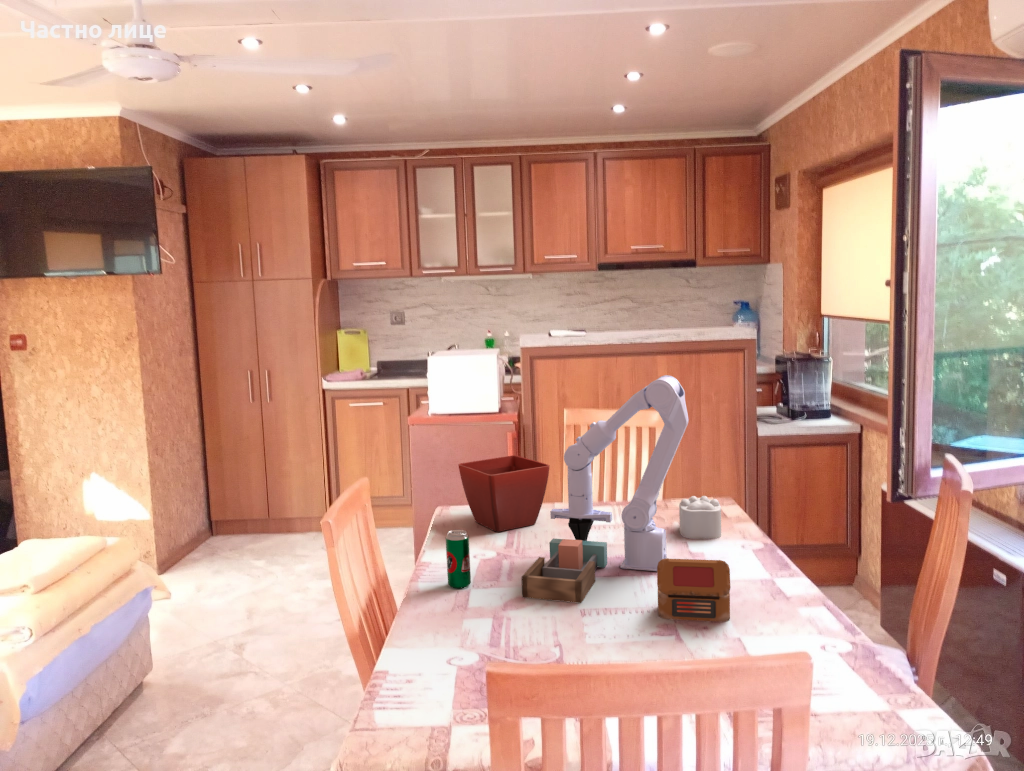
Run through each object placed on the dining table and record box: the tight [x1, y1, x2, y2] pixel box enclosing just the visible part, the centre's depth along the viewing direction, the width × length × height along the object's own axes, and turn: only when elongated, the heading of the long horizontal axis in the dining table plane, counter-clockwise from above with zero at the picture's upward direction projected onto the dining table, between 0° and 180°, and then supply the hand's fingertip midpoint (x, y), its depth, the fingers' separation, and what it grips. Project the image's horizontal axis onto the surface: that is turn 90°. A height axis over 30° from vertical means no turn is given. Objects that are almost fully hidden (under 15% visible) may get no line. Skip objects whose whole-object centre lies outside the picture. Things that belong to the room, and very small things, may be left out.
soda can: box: [445, 529, 472, 590], centre depth 167 cm, size 5×5×12 cm
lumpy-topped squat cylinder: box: [678, 495, 722, 540], centre depth 199 cm, size 10×13×9 cm
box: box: [656, 558, 731, 623], centre depth 148 cm, size 28×28×12 cm
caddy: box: [521, 556, 596, 604], centre depth 163 cm, size 13×12×4 cm
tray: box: [542, 538, 608, 580], centre depth 173 cm, size 13×14×5 cm
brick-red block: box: [558, 538, 583, 570], centre depth 172 cm, size 4×4×6 cm
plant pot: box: [458, 454, 550, 532], centre depth 212 cm, size 19×19×17 cm
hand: (582, 549), depth 181 cm, fingers closed
